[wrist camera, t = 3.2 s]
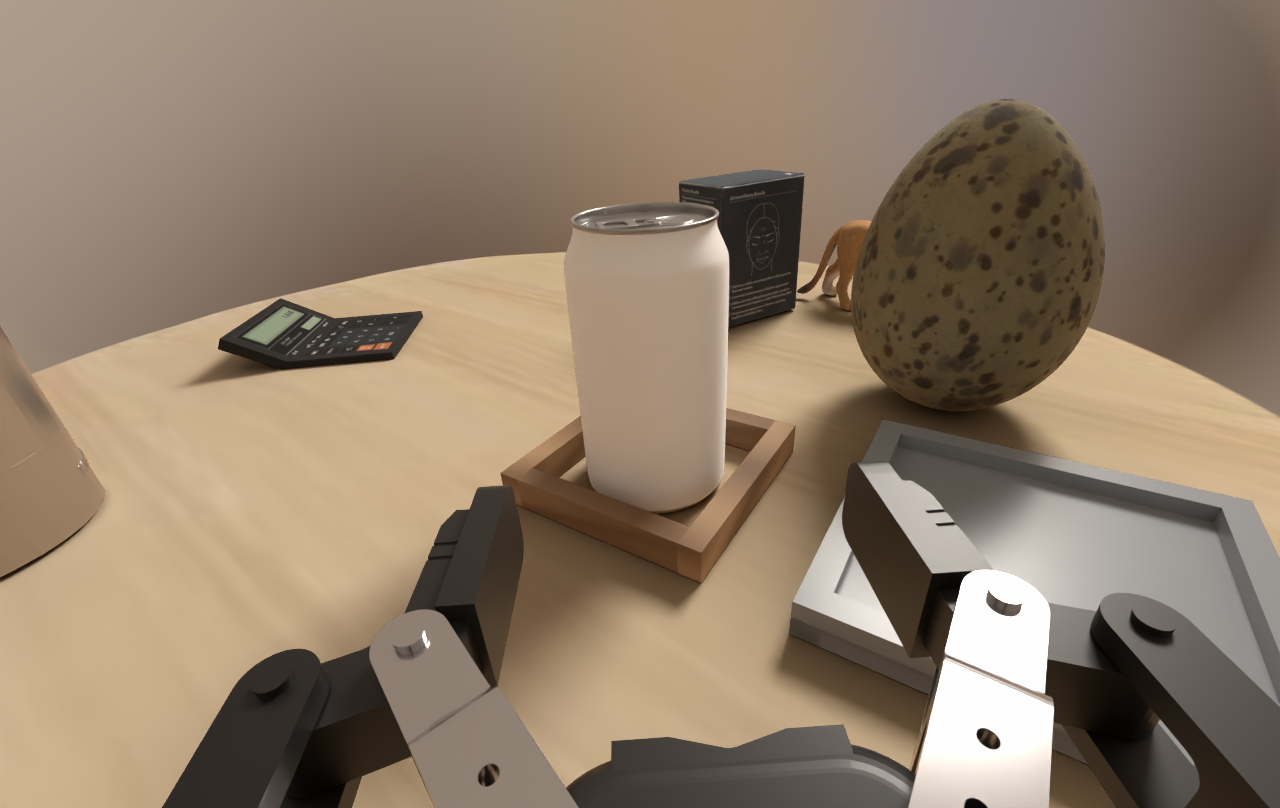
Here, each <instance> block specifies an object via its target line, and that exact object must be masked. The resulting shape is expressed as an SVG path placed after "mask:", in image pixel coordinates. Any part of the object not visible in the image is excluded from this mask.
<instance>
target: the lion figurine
mask: <svg viewBox="0 0 1280 808" xmlns="http://www.w3.org/2000/svg"><path fill="white" fill-rule="evenodd" d="M870 224H871V221H866V220H856V221H851V222H848V223H846V224H844V225H843V226H841V227H840V228H839V229H838V230H837V231H836V232H835V233H834V235H833V236H832V238H831V239H830V241H829V243H828V245H827V247H826V250H825V252H824V255H823V257H822V260H821V263H820V265H819V268H818V271H817V273H816V275H815V276H814V278H813V279H812V280H811V281H810V282H809V283H808V284H806V285H804V286H803V287H801V288H800V289H798V291H797V292H798V293H802V294H804V293H807V292H809V291H810V290H811V289H813V288H814V286H815V285H816V284H817V282H818V281H819V279H820V277H821V276H822V274H823V272H824V270H825V268H826V266H827V263H828V261H829V259H830V257H831V255H832V253H833V251H834V248H835V247H836V245H837V244H838V246H837V251H838V252H837V253H838V259H837V260H836V262H835V263H834V264H833V265H831V266H830V267H829V268H828V269H827V271H826V274H825V278H824V281H823V284H822V290H823V293H824V294H827V295H837V294H838V297H839V301H840V306H841V307H842V308H843V309H845V310H852V308H851V300H850V299H849V297H848V293H847V289H848V285H849V283H850V281H851V279H852V277H853V275H854V271H855V267H856V263H857V259H858V256H859V252H860V249H861V246H862V244H863V241H864V238H865V236H866V233H867V231H868V229H869V226H870ZM839 275H840V277H839V280H838V282H837V285H836V287H833V285H832V283H833V281H834V279H835V278H837V277H838V276H839Z"/></svg>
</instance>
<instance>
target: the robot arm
mask: <svg viewBox="0 0 1280 808" xmlns="http://www.w3.org/2000/svg"><path fill="white" fill-rule="evenodd" d="M87 461H88V460H87V459H86V457H85V455H84V454H83V452H82V451H81V449H80V448H78V447H77V445H76V444H75V442H74V441H73V439H72V438H71V436H70V434H69V433H68V431H67V430H66V428H65V427H64V425H63V423H62V422H61V420H60V419H59V417H58V415H57V414H56V412H55V411H54V409H53V408H52V406H51V404H50V403H49V401H48V400H47V398H46V397H45V395H44V394H43V392H42V390H41V389H40V387H39V386H38V384H37V383H36V381H35V379H34V378H33V376H32V375H31V373H30V372H29V370H28V369H27V367H26V366H25V364H24V362H23V361H22V359H21V358H20V356H19V355H18V353H17V352H16V350H15V348H14V347H13V345H12V344H11V342H10V340H9V339H8V337H7V336H6V334H5V333H4V331H3V330H2V328H1V326H0V577H1V576H3V575H6V574H8V573H10V572H12V571H14V570H16V569H18V568H19V567H21V566H23V565H25V564H27V563H28V562H30V561H32V560H34V559H36V558H37V557H39V556H41V555H43V554H44V553H46V552H47V551H49V550H50V549H52V548H54V547H55V546H57V545H58V544H60V543H61V542H63V541H64V540H66V539H67V538H68V537H70V536H71V535H72V534H73V533H75V532H76V531H77V530H78V529H80V528H81V527H82V526H83V525H85V524H86V523H87V522H88V520H89V519H90V518H91V517H92V516H93V515H94V514H95V513H96V512H97V511H98V509H99V507H100V506H101V504H102V502H103V500H104V494H105V490H104V489H103V487H102V485H101V484H100V482H99V480H98V479H97V477H96V476H95V474H94V472H93V471H92V469H91V467H90V466H89V463H88V462H87ZM842 526H843V531H844V535H845V538H846V540H847V542H848V544H849V546H850V548H851V550H852V552H853V553H854V555H855V557H856V559H857V561H858V563H859V565H860V566H861V568H862V570H863V572H864V574H865V576H866V578H867V580H868V581H869V583H870V585H871V587H872V589H873V591H874V593H875V595H876V596H877V598H878V600H879V602H880V604H881V606H882V608H883V609H884V611H885V613H886V615H887V617H888V619H889V621H890V623H891V624H892V626H893V628H894V630H895V632H896V634H897V636H898V637H899V639H900V641H901V643H902V645H903V647H904V649H905V651H906V652H907V654H908V656H909V658H921V657H931V658H932V660H933V662H934V663H935V665H936V670H935V673H934V676H933V680H932V684H931V688H930V692H929V696H928V700H927V704H926V707H925V711H924V715H923V719H922V723H921V727H920V731H919V735H918V739H917V742H916V746H915V750H914V754H913V757H912V761H911V765H910V768H909V769H907V768H906V767H904V766H903V765H901V764H899V763H898V762H896V761H894V760H892V759H890V758H889V757H886V756H884V755H882V754H880V753H877V752H875V751H872V750H869V749H866V748H863V747H860V746H856V745H851V744H850V741H849V739H848V736H847V733H846V730H845V728H844V725H829V726H815V727H801V728H787V729H784V730H781V731H779V732H776V733H773V734H770V735H768V736H765V737H762V738H759V739H757V740H754V741H751V742H748V743H746V744H743V745H740V746H737V747H734V748H723V747H717V746H712V745H707V744H702V743H697V742H692V741H686V740H681V739H676V738H671V737H663V738H649V739H635V740H621V741H612V751H611V761H609V762H606V763H604V764H601V765H599V766H597V767H595V768H593V769H591V770H589V771H588V772H586V773H585V774H583V775H582V776H580V777H579V778H577V779H576V780H574V781H573V782H572V783H571V784H570V785H569V786H568V787H566V788H565V786H564V785H563V783H562V782H561V780H560V779H559V777H558V776H557V774H556V773H555V771H554V770H553V768H552V767H551V765H550V763H549V762H548V760H547V759H546V757H545V756H544V754H543V753H542V751H541V750H540V748H539V747H538V745H537V744H536V742H535V741H534V739H533V738H532V736H531V735H530V733H529V732H528V730H527V729H526V727H525V726H524V724H523V723H522V721H521V720H520V718H519V717H518V715H517V714H516V712H515V710H514V709H513V707H512V706H511V704H510V703H509V701H508V700H507V698H506V697H505V695H504V694H503V692H502V691H501V690H500V689H499V687H498V686H497V684H498V680H499V675H500V670H501V665H502V660H503V655H504V650H505V645H506V640H507V636H508V631H509V626H510V621H511V616H512V611H513V606H514V601H515V596H516V592H517V587H518V582H519V577H520V572H521V567H522V562H523V535H522V530H521V525H520V520H519V515H518V510H517V505H516V500H515V496H514V491H513V488H512V486H511V485H505V486H490V487H479V488H478V489H477V491H476V493H475V496H474V499H473V502H472V504H471V507H470V509H469V510H456V511H455V512H454V513H453V514H452V515H451V516H450V517H449V518H448V519H447V520H446V521H445V522H444V523H443V524H442V525H441V527H440V530H439V532H438V534H437V537H436V539H435V542H434V546H432V549H431V551H430V554H429V556H428V561H426V563H425V566H424V568H423V570H422V573H421V575H420V578H419V580H418V582H417V585H416V587H415V590H414V592H413V594H412V597H411V599H410V602H409V604H408V606H407V609H406V611H405V613H404V614H403V615H401V616H399V617H397V618H395V619H393V620H392V621H390V622H389V623H388V624H387V625H385V626H384V627H383V628H382V629H381V630H380V631H379V633H378V634H377V635H376V637H375V638H374V640H373V642H372V644H371V646H369V647H367V648H365V649H363V650H360V651H357V652H354V653H351V654H348V655H345V656H343V657H340V658H337V659H334V660H331V661H328V662H325V663H322V664H321V663H320V661H319V659H318V657H317V656H316V655H315V654H314V653H313V652H311V651H309V650H305V649H291V650H286V651H283V652H280V653H277V654H274V655H272V656H270V657H268V658H266V659H264V660H263V661H261V662H260V663H258V664H256V665H255V666H254V667H253V668H251V669H250V670H249V671H248V672H247V673H246V674H245V675H243V676H242V678H241V679H240V680H239V681H238V682H237V684H236V685H235V686H234V688H233V689H232V691H231V693H230V694H229V696H228V698H227V699H226V701H225V703H224V705H223V706H222V708H221V710H220V711H219V713H218V715H217V716H216V718H215V720H214V721H213V723H212V725H211V726H210V728H209V730H208V731H207V733H206V735H205V736H204V738H203V740H202V741H201V743H200V745H199V747H198V748H197V750H196V752H195V753H194V755H193V757H192V758H191V760H190V762H189V763H188V765H187V767H186V768H185V770H184V772H183V773H182V775H181V777H180V778H179V780H178V782H177V783H176V785H175V787H174V789H173V790H172V792H171V794H170V795H169V797H168V799H167V800H166V802H165V804H164V805H163V807H162V808H352V805H353V802H354V799H355V796H356V793H357V790H358V787H359V784H360V781H361V778H362V776H364V775H366V774H369V773H371V772H374V771H376V770H379V769H381V768H384V767H386V766H389V765H391V764H394V763H396V762H399V761H401V760H404V759H406V758H409V757H411V756H412V758H413V760H414V763H415V765H416V767H417V769H418V772H419V774H420V776H421V778H422V781H423V783H424V785H425V787H426V790H427V792H428V794H429V796H430V799H431V801H432V803H433V805H434V808H1049V790H1050V771H1051V752H1052V733H1053V723H1057V724H1062V726H1063V727H1064V729H1065V730H1066V732H1067V733H1068V735H1069V736H1070V738H1071V740H1072V741H1073V743H1074V744H1075V746H1076V747H1077V749H1078V750H1079V752H1080V753H1081V755H1082V756H1083V758H1084V759H1085V761H1086V762H1087V764H1088V765H1089V767H1090V768H1091V770H1092V771H1093V773H1094V774H1095V776H1096V777H1097V779H1098V780H1099V782H1100V783H1101V785H1102V786H1103V788H1104V790H1105V791H1106V793H1107V794H1108V796H1109V797H1110V799H1111V800H1112V802H1113V803H1114V805H1115V806H1116V808H1280V707H1279V706H1278V705H1277V704H1276V703H1275V702H1274V701H1273V700H1272V699H1271V698H1270V697H1269V696H1268V695H1267V694H1266V693H1265V692H1264V691H1263V690H1262V689H1261V688H1260V687H1259V686H1258V685H1257V684H1255V683H1254V682H1253V681H1252V680H1251V679H1250V678H1249V677H1248V676H1247V675H1246V674H1245V673H1244V672H1243V671H1242V670H1241V669H1240V668H1239V667H1238V666H1237V665H1236V664H1235V663H1234V662H1233V661H1231V660H1230V659H1229V658H1228V657H1227V656H1226V655H1225V654H1224V653H1223V652H1222V651H1221V650H1220V649H1219V648H1218V647H1217V646H1216V645H1215V644H1214V643H1213V642H1212V641H1211V640H1210V639H1209V638H1208V637H1206V636H1205V635H1204V634H1203V633H1202V632H1201V631H1200V630H1199V629H1198V628H1197V627H1196V626H1195V625H1194V624H1193V623H1192V622H1191V621H1190V620H1188V619H1187V618H1186V617H1185V616H1183V615H1182V614H1181V613H1179V612H1178V611H1176V610H1174V609H1173V608H1171V607H1169V606H1167V605H1165V604H1163V603H1161V602H1159V601H1156V600H1154V599H1151V598H1148V597H1145V596H1141V595H1137V594H1131V593H1113V594H1110V595H1108V596H1106V597H1104V598H1103V599H1102V601H1101V603H1100V605H1099V607H1098V609H1097V611H1092V610H1086V609H1081V608H1075V607H1069V606H1063V605H1058V604H1053V603H1048V602H1046V600H1045V599H1044V598H1043V596H1042V595H1041V594H1040V593H1039V592H1038V591H1037V590H1036V589H1034V588H1033V587H1032V586H1030V585H1029V584H1027V583H1026V582H1024V581H1023V580H1021V579H1018V578H1016V577H1014V576H1012V575H1009V574H1006V573H1002V572H998V571H995V570H994V569H993V568H992V567H991V566H990V564H989V563H988V562H987V561H986V559H985V558H984V557H983V556H982V555H981V553H980V552H979V551H978V550H977V549H976V547H975V546H974V545H973V544H972V542H971V541H970V540H969V539H968V538H967V536H966V535H965V534H964V533H963V531H962V530H961V529H960V528H959V527H958V525H955V522H954V520H953V519H952V518H951V517H950V516H949V514H948V513H947V512H944V508H943V507H942V506H941V505H940V503H939V502H938V501H937V500H936V499H935V497H934V496H933V495H932V494H931V493H930V492H928V491H927V490H925V489H924V488H922V487H921V486H919V485H918V484H916V483H915V482H913V481H912V480H908V481H902V480H901V478H900V477H899V476H898V474H897V473H896V472H895V470H894V469H893V468H892V467H891V465H890V464H889V463H888V462H887V461H872V462H857V463H852V464H851V465H850V468H849V471H848V478H847V484H846V491H845V498H844V504H843V511H842ZM1159 720H1161V721H1162V722H1163V723H1164V725H1165V726H1166V727H1167V728H1168V729H1169V731H1170V732H1171V733H1172V734H1173V735H1174V737H1175V738H1176V739H1177V740H1178V741H1179V743H1180V744H1181V745H1182V746H1183V748H1184V749H1185V750H1186V751H1187V753H1188V754H1189V755H1190V757H1191V758H1192V760H1193V762H1194V764H1195V766H1196V768H1197V770H1196V769H1195V767H1194V766H1193V765H1192V764H1191V763H1190V761H1189V760H1188V759H1187V758H1186V756H1185V755H1184V754H1183V753H1182V752H1181V750H1180V749H1179V748H1178V747H1177V745H1176V744H1175V743H1174V742H1173V741H1172V739H1171V738H1170V737H1169V736H1168V734H1167V733H1166V732H1165V731H1164V730H1163V728H1162V727H1161V726H1160V725H1159V723H1158V722H1159Z"/></svg>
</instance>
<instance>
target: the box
mask: <svg viewBox="0 0 1280 808" xmlns="http://www.w3.org/2000/svg"><path fill="white" fill-rule="evenodd" d="M804 177H805V176H804V173H792V172H782V171H772V170H753V171H746V172H739V173H732V174H726V175H719V176H711V177H705V178H698V179H691V180H685V181H680V182H679V195H680V196H679V197H680V203H693V204H701V205H706V206H710V207H713V208H715V209H717V210H718V211H719V217H718V219H717V226H718V229H719V231H720V234H721V236H722V238H723V240H724V242H725V245H726V247H727V250H728V253H729V313H728V328H729V327H732V326H736V325H739V324H743V323H746V322H749V321H753V320H756V319H759V318H763V317H766V316H770V315H773V314H776V313H780V312H783V311H787V310H790V309H794V308H795V301H796V288H797V273H798V258H799V244H800V231H801V216H802V201H803V188H804Z"/></svg>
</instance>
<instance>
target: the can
mask: <svg viewBox="0 0 1280 808" xmlns="http://www.w3.org/2000/svg"><path fill="white" fill-rule="evenodd" d="M718 217H719V211H718V210H717V209H715V208H713V207H710V206H706V205H701V204H693V203H679V202H654V203H653V202H650V203H633V204H622V205H614V206H607V207H601V208H596V209H591V210H588V211H584V212H581V213H578V214H576V215H574V216H573V217H572V218H571V219H570V225H571V226H572V227H573V234H572V238H571V241H570V244H569V247H568V249H567V252H566V256H565V260H564V272H565V284H566V293H567V302H568V311H569V320H570V329H571V337H572V346H573V355H574V363H575V372H576V380H577V389H578V397H579V406H580V414H581V422H582V431H583V439H584V447H585V455H586V463H587V470H588V476H589V480H590V483H591V485H592V487H593V488H594V490H595V491H596V492H598V493H601V494H603V495H606V496H609V497H611V498H614V499H617V500H619V501H622V502H625V503H627V504H630V505H633V506H635V507H638V508H641V509H643V510H646V511H649V512H651V513H654V514H663V513H670V512H675V511H679V510H683V509H686V508H688V507H691V506H693V505H695V504H697V503H699V502H700V501H702V500H703V499H704V498H706V497H707V496H708V495H709V494H710V493H712V492H713V491H714V490H715V489H716V487H717V486H718V485H719V483H720V481H721V479H722V476H723V472H724V459H725V430H726V395H727V356H728V313H729V253H728V250H727V247H726V245H725V242H724V240H723V238H722V236H721V234H720V231H719V229H718V226H717V219H718Z"/></svg>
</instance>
